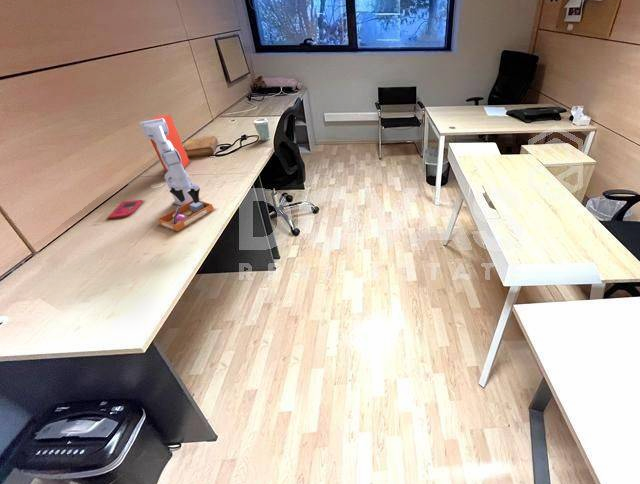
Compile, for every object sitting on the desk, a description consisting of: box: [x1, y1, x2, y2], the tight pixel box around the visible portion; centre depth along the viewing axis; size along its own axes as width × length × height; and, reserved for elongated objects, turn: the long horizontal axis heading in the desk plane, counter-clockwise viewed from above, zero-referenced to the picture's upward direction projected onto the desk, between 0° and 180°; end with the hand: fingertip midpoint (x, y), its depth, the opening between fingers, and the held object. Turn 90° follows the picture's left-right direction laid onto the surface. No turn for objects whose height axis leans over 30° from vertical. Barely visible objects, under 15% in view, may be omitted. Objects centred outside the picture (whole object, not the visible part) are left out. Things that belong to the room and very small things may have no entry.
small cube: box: [189, 202, 205, 213], centre depth 161 cm, size 5×4×4 cm
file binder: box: [149, 114, 190, 174], centre depth 197 cm, size 8×17×32 cm, turn 12°
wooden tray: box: [157, 200, 215, 232], centre depth 157 cm, size 13×20×4 cm, turn 156°
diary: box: [183, 135, 219, 158], centre depth 229 cm, size 23×19×6 cm
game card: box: [172, 204, 187, 225], centre depth 154 cm, size 7×5×9 cm
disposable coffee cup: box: [253, 118, 270, 141], centre depth 244 cm, size 11×11×15 cm
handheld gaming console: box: [107, 199, 143, 220], centre depth 164 cm, size 10×1×15 cm
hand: (190, 201), depth 152 cm, fingers open, 7 cm apart
